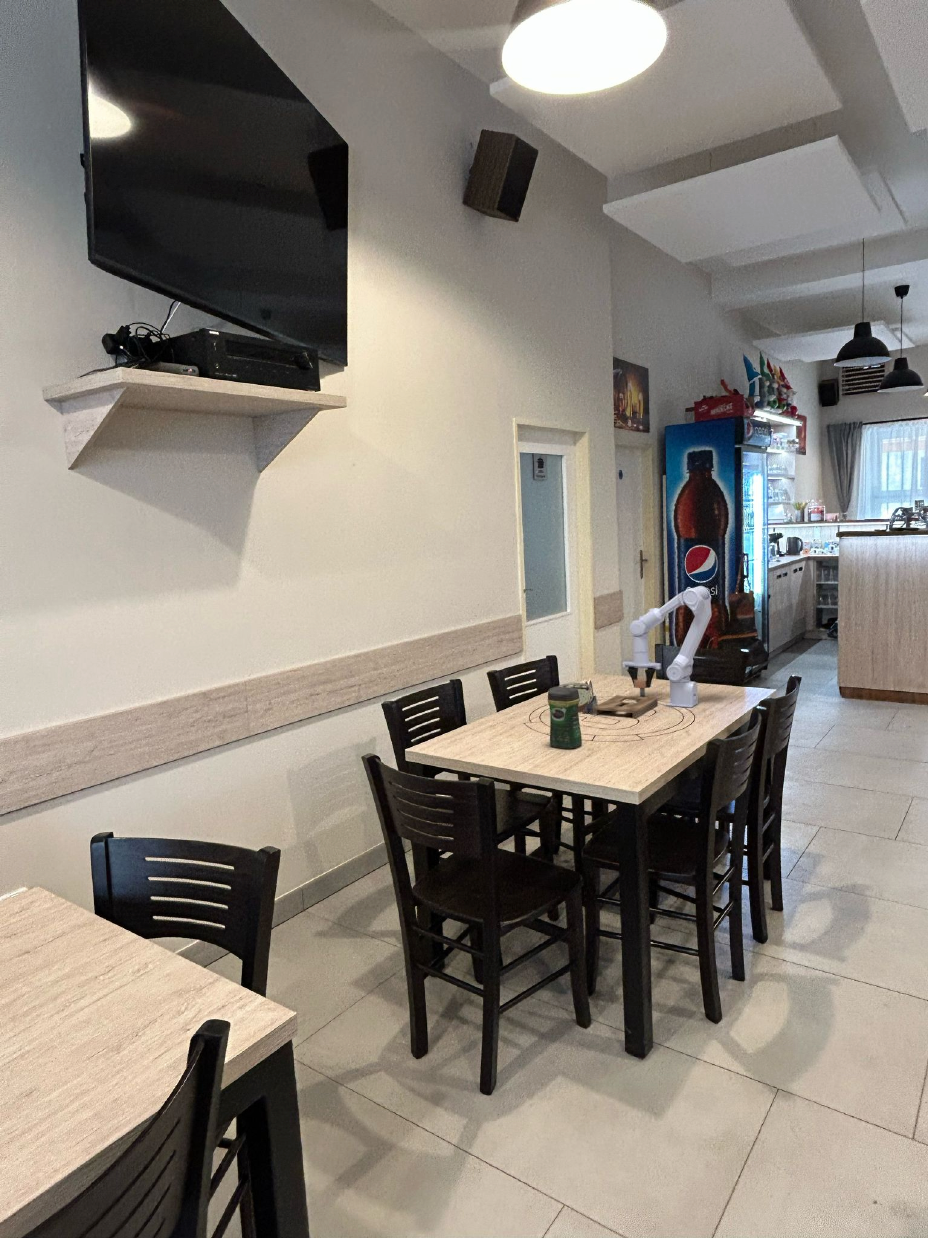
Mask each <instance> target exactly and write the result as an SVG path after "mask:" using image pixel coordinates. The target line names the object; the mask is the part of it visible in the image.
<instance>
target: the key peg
mask: <svg viewBox="0 0 928 1238" xmlns="http://www.w3.org/2000/svg"><path fill="white" fill-rule="evenodd" d="M633 688H635V689H639V695H640V696H639V697H647V698H650V697H649V696H646V689H648V688H647V679H646V677H637V679H634V685H633ZM638 701H640V700H635V702H636V703H637V702H638Z"/></svg>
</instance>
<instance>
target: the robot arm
mask: <svg viewBox="0 0 928 1238" xmlns="http://www.w3.org/2000/svg"><path fill="white" fill-rule="evenodd" d="M711 601H712V596H711V593H710V592H709V590H708V588H707V587H705V586H703V585H699V586H695V587H692V588H687V589H685V590H684V591H682V592H680V593H678V594H677V595H675V596H674V597H673V598H672V599H670V600H669V601H667V602H666V603H665V604H664V605H663V606H661V607H660V608H658V607H654V608H649V609H648V611H647V613H645V614H644V615H640V616H639V617H638V618H639V619H637V620H633V621H632V622H631V623H630V624H629V632H630V633H631V635H632V652H633V655H632V656H633V658H632V659H633V661H623V662H622V663H621V664H622V668H623V669H624V668H627V669H626V671H627V673H628V674H629V677H630V679H631V681H632V685H633V686H634V679H637V678H638V674H639V671H638V670H639V669H645V670H644V672H645V678H646V679H647V688H646V689H649V688H651V687H652V681H653V678H654V675H655V672H656V671H657V670H662V663H658V662H651V661H650V652H649V633H650V631H651V630H652V629H654V628H655V627H657V626H658V625H660V624H661V623H662V622H664V621H665V616H666V615H667V614H669V613H671V612H672V611H674V610H676V609H678V608H679V607H681V606H687V607H688V609H690V610H691V611H692V614H693V616H694V618H693V620H692V622H691V624H690V627H689V630H688V632H687V634H686V636H685V638H684V641H683V644H682V645H681V648H680V650H679V651H678V655H676V657H675V658H674V659H673V661H672V663H671V664H670V665H669V666H668V667H667V669H666V677H667V678H668V679H669V701H670V702H668V703H667V704H666V706H668V707H680V708H693V707H694V706H696V705H698V704H699V700H698V697H699V696H698V695H699V694H698V685H697V682H696V681H691V677H690V676H691V675H692V673H693V664H694V663H695V662H694V661H695V660H694V659H693V658H694V657H695V654H696V652H697V649H698V648H699V645H700V642H701V640H702V639H703V636H704V634H705V632H706V629H707V627H708V625H709V623H710V620H711V618H712V604H711Z"/></svg>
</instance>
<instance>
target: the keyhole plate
mask: <svg viewBox="0 0 928 1238" xmlns="http://www.w3.org/2000/svg"><path fill="white" fill-rule="evenodd" d="M647 697H648V696H645V697H640V696H631V695H618V694H616V695H615V696H613V697H611V698H608V699H606V700H605V701H603V702H601V703H599V704H597V705H594V706H593V708H592V709H593V715H594V714H596V715H595V716H597V714H598V715H600V714H602V713H603V711H604V712H605V711H609V712H610V711H611V712H619V713H621V712H622V713H632V719H638V718H639V716H640V717H641V716H643V715H644V714H647V713H648V712H650V711H652V710H653V709H655V708H656V707H658V705H659V704H658V703H659V702H658V697H649V698H647ZM625 700H630V701H631V700H632V702H630V703H628V704H626V705H624V706H621V705H623V704H624V701H625ZM636 700H640V701H638V702H637V701H636ZM633 701H635V702H633ZM637 717H638V718H637Z"/></svg>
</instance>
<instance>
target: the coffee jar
mask: <svg viewBox="0 0 928 1238" xmlns="http://www.w3.org/2000/svg"><path fill="white" fill-rule="evenodd" d="M579 701H580V697H579V692H578V689H577V688H569V687H558V686H553V687H550V688H549V689H548V692H547V704H548V706H549V715H550V716H549V718H550V720H549V721H550V722H549V744H550V746H551V747H553V748H558V749H573V748H575V749H577V748H579V747H581V745H582V744H583V739H582V731H581V723H580V716H579V713H578V705H579Z"/></svg>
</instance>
